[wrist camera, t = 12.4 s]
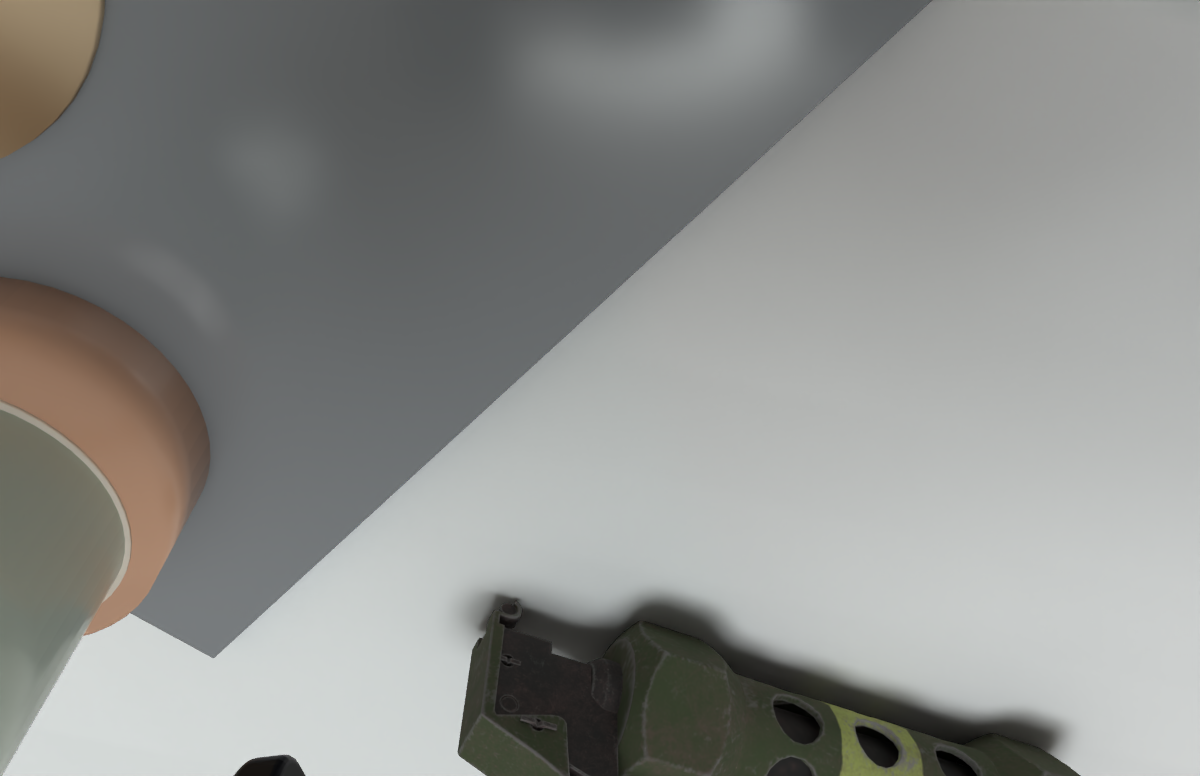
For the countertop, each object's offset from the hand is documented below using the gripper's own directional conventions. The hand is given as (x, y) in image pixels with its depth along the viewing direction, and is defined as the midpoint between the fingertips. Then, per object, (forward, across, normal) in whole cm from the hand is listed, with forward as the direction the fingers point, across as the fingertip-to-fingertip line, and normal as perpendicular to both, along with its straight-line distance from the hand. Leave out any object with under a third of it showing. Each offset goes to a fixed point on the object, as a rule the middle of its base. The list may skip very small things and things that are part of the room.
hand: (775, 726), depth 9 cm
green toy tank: (+13, -1, +16) cm, 21 cm away
